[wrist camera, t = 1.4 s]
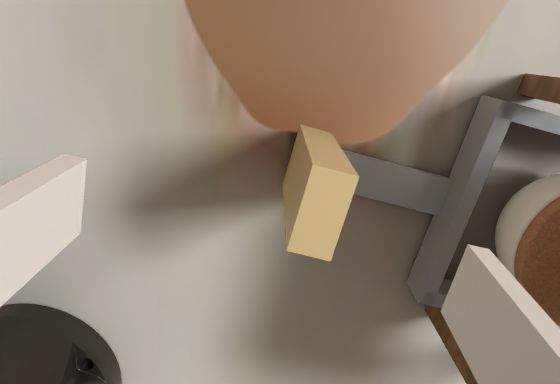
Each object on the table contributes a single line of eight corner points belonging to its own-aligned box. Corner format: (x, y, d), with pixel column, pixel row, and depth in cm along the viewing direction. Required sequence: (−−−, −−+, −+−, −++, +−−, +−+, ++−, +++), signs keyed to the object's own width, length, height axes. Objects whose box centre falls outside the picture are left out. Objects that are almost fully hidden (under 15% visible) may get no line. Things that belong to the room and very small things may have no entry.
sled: (589, 326, 41) (712, 437, 29) (264, 248, 38) (260, 337, 26) (686, 153, 36) (880, 205, 24) (321, 48, 33) (347, 51, 21)
